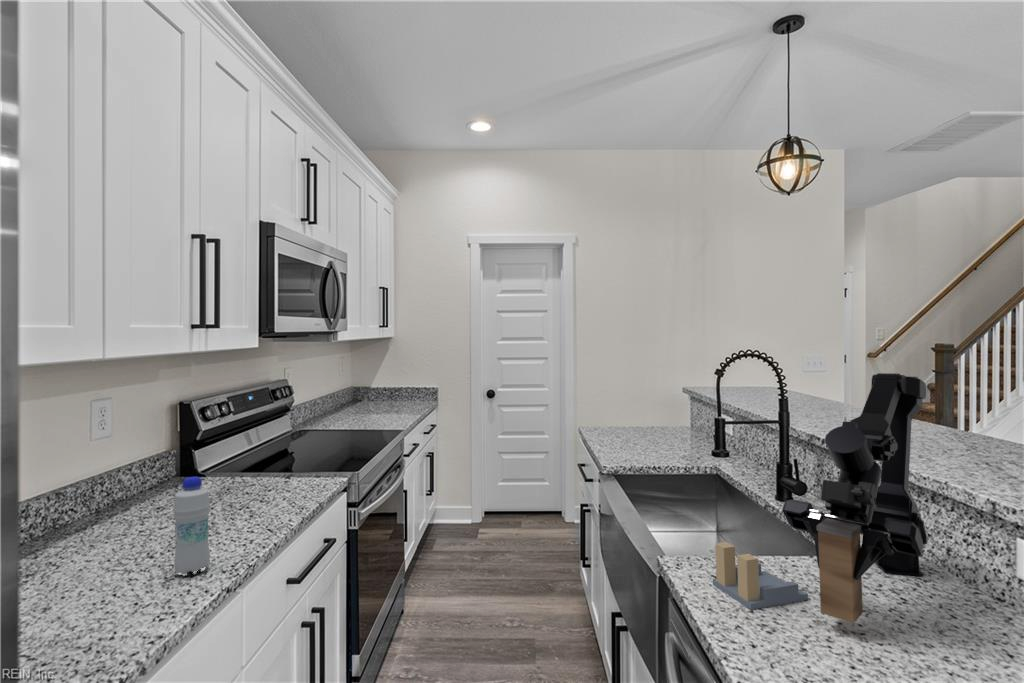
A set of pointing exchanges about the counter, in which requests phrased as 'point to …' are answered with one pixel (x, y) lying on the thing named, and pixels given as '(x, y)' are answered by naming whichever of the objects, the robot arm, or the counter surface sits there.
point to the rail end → (839, 569)
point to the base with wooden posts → (751, 581)
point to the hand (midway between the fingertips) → (837, 573)
